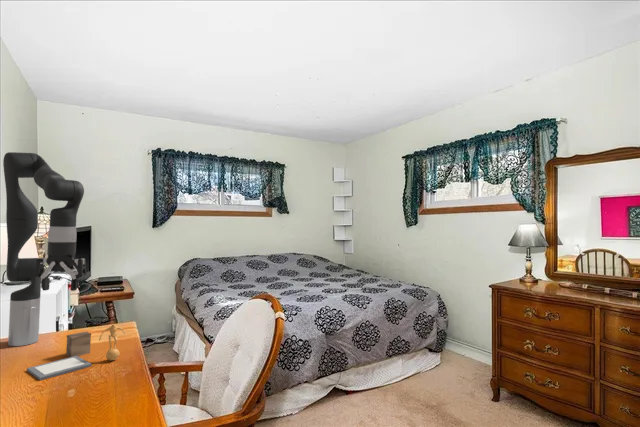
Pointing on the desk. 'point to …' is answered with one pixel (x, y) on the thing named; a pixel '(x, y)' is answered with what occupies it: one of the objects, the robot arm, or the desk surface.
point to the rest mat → (58, 367)
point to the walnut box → (78, 344)
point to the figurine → (114, 352)
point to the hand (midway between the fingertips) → (60, 290)
